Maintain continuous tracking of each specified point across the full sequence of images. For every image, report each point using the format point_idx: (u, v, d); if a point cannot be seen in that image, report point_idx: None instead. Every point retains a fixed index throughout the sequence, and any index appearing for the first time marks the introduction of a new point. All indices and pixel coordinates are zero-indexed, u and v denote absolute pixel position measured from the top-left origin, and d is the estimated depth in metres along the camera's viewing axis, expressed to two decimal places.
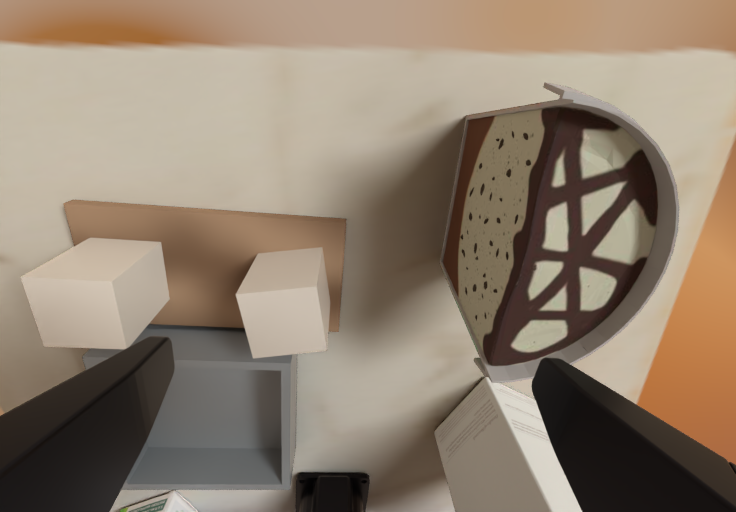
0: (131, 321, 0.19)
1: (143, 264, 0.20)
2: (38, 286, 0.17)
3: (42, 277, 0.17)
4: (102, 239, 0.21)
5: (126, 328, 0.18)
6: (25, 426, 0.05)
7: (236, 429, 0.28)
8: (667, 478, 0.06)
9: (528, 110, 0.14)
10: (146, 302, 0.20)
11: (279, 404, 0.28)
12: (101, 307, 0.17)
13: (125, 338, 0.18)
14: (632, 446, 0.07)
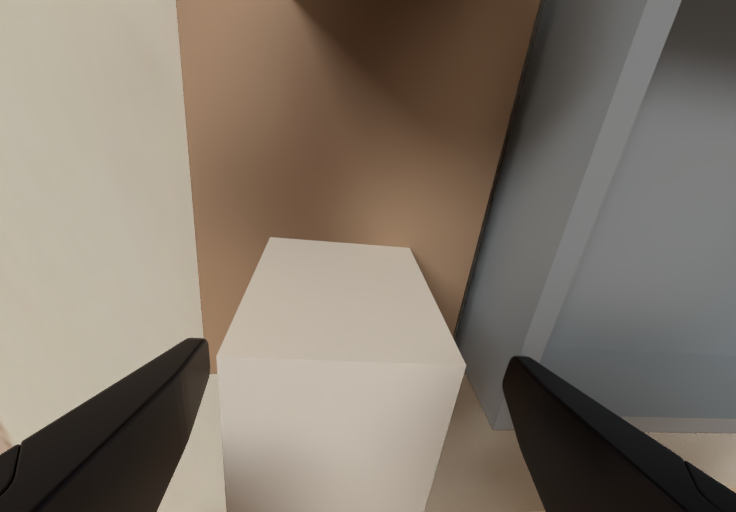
0: (390, 332, 0.07)
1: (275, 274, 0.08)
2: (250, 495, 0.07)
3: (225, 484, 0.07)
4: None
5: (398, 351, 0.06)
6: (86, 428, 0.05)
7: None
8: (622, 478, 0.06)
9: None
10: (372, 289, 0.08)
11: None
12: (311, 396, 0.06)
13: (426, 362, 0.06)
14: (591, 445, 0.06)
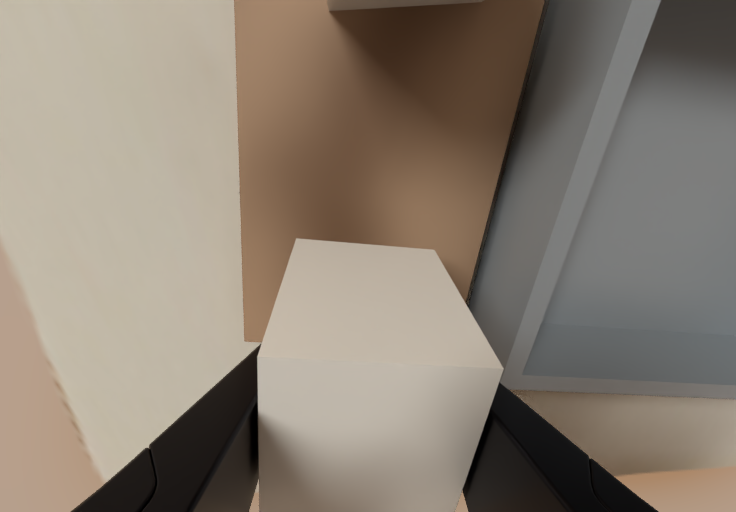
0: (424, 335, 0.07)
1: (304, 275, 0.08)
2: (283, 495, 0.07)
3: (259, 483, 0.07)
4: None
5: (435, 353, 0.06)
6: (204, 432, 0.05)
7: None
8: (528, 477, 0.06)
9: None
10: (402, 290, 0.08)
11: None
12: (348, 397, 0.06)
13: (463, 364, 0.06)
14: (505, 443, 0.06)
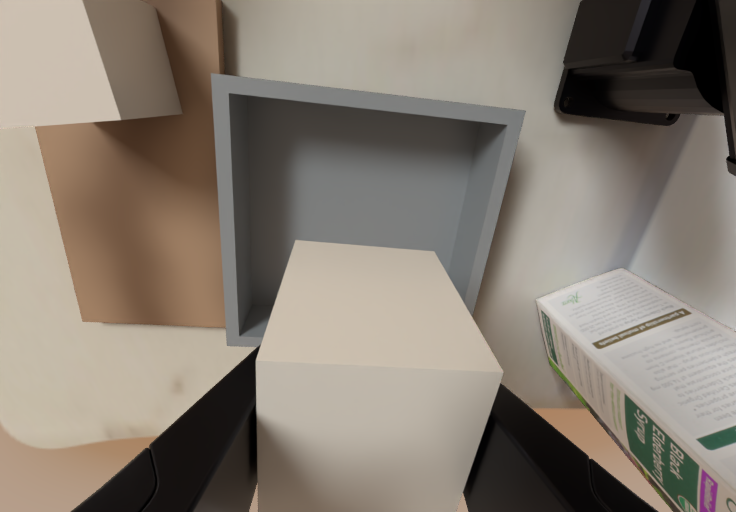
0: (424, 338, 0.07)
1: (304, 277, 0.08)
2: (282, 499, 0.07)
3: (258, 487, 0.07)
4: None
5: (434, 356, 0.06)
6: (204, 431, 0.05)
7: (423, 198, 0.19)
8: (527, 476, 0.06)
9: None
10: (401, 293, 0.08)
11: (378, 123, 0.17)
12: (347, 400, 0.06)
13: (464, 367, 0.06)
14: (505, 443, 0.06)
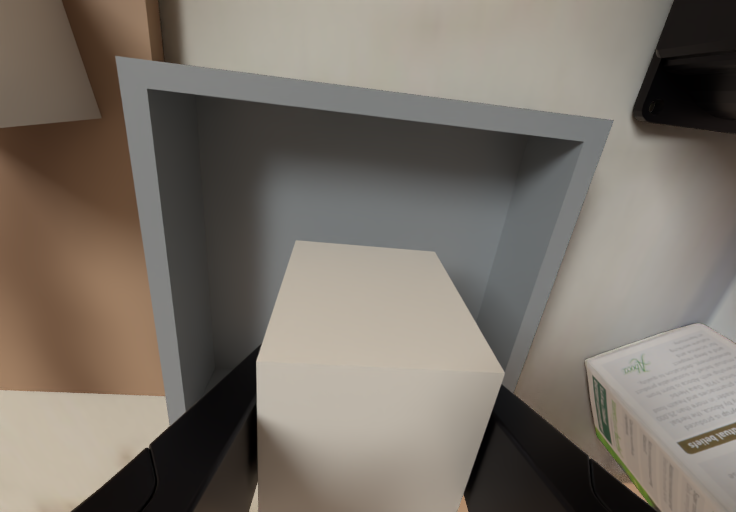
0: (425, 338, 0.07)
1: (304, 278, 0.08)
2: (283, 500, 0.07)
3: (258, 488, 0.07)
4: None
5: (435, 357, 0.06)
6: (204, 431, 0.05)
7: (445, 235, 0.14)
8: (527, 476, 0.06)
9: None
10: (402, 293, 0.08)
11: (385, 133, 0.12)
12: (348, 401, 0.06)
13: (464, 368, 0.06)
14: (504, 443, 0.06)
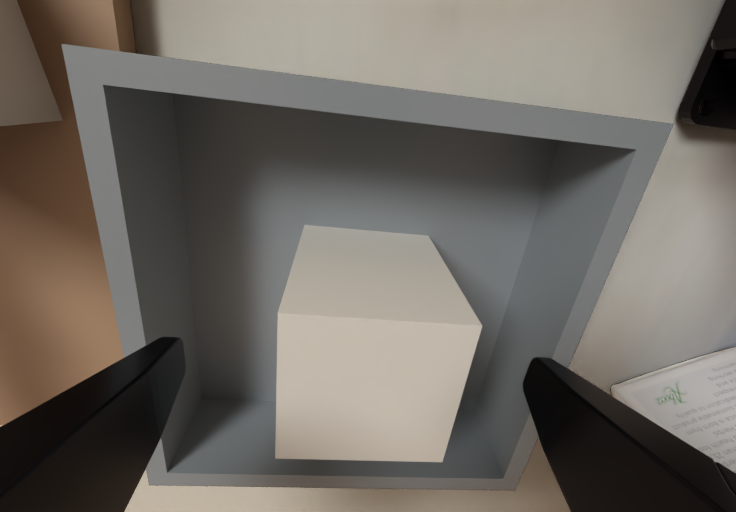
0: (416, 300, 0.08)
1: (314, 254, 0.09)
2: (296, 439, 0.08)
3: None
4: None
5: (425, 313, 0.07)
6: (44, 427, 0.05)
7: (461, 253, 0.12)
8: (653, 478, 0.06)
9: None
10: (398, 267, 0.09)
11: (394, 138, 0.10)
12: (352, 349, 0.07)
13: (449, 322, 0.07)
14: (620, 446, 0.06)
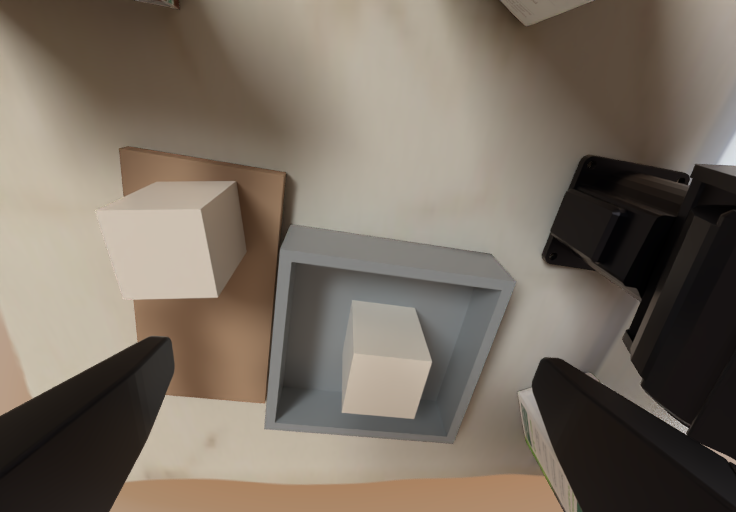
0: (407, 348, 0.19)
1: (360, 321, 0.20)
2: (352, 404, 0.19)
3: (344, 399, 0.19)
4: (344, 343, 0.23)
5: (410, 355, 0.18)
6: (25, 426, 0.05)
7: (431, 317, 0.23)
8: (667, 478, 0.06)
9: None
10: (399, 330, 0.20)
11: None
12: (380, 368, 0.18)
13: (419, 359, 0.18)
14: (633, 446, 0.07)
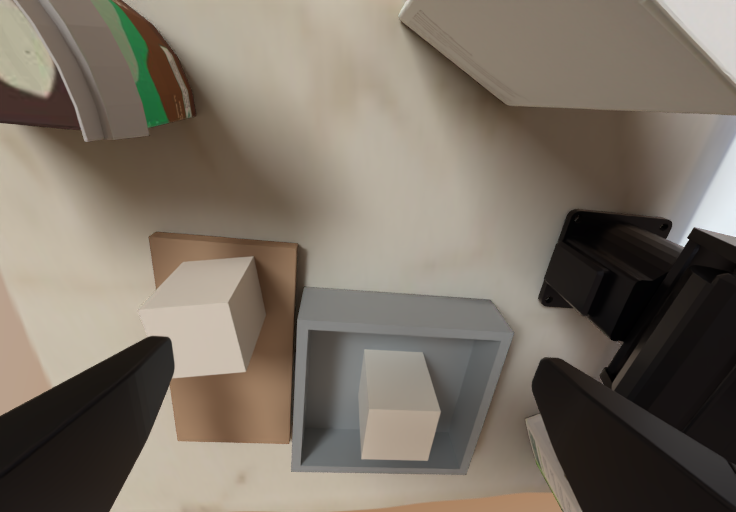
0: (417, 399, 0.20)
1: (373, 373, 0.22)
2: (370, 451, 0.21)
3: (362, 447, 0.21)
4: (359, 387, 0.25)
5: (420, 406, 0.20)
6: (25, 426, 0.05)
7: (438, 359, 0.25)
8: (667, 479, 0.06)
9: None
10: (409, 379, 0.22)
11: None
12: (393, 419, 0.20)
13: (428, 410, 0.20)
14: (632, 446, 0.07)
